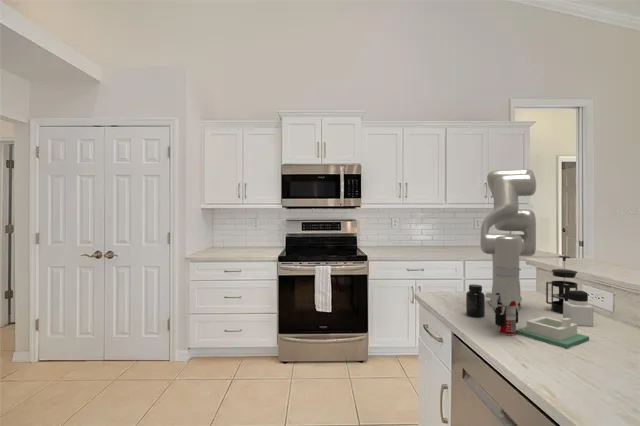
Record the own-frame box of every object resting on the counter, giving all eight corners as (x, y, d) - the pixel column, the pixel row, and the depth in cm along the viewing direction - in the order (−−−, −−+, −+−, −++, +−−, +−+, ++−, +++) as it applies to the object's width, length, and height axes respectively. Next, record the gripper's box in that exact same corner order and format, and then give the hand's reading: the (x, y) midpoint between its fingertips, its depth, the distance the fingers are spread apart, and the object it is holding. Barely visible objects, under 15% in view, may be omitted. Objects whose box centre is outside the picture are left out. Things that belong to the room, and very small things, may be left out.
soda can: (500, 329, 130) (500, 295, 130) (517, 332, 126) (517, 297, 126) (496, 333, 125) (496, 298, 125) (513, 336, 122) (513, 300, 122)
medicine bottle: (593, 326, 132) (593, 293, 132) (571, 325, 134) (571, 292, 134) (583, 320, 139) (583, 289, 139) (562, 319, 141) (562, 288, 141)
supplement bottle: (472, 312, 152) (472, 283, 151) (488, 316, 146) (488, 285, 146) (462, 314, 148) (462, 285, 148) (478, 318, 142) (478, 288, 142)
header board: (515, 333, 125) (515, 312, 125) (538, 326, 132) (538, 307, 132) (566, 348, 111) (566, 325, 111) (589, 340, 118) (589, 318, 118)
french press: (575, 309, 155) (575, 255, 154) (583, 315, 146) (583, 258, 146) (543, 307, 159) (543, 254, 158) (549, 313, 150) (549, 256, 150)
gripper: (511, 268, 133) (511, 317, 133) (481, 272, 124) (481, 325, 125) (532, 271, 127) (532, 322, 127) (501, 276, 118) (501, 331, 118)
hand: (506, 323), depth 126 cm, fingers open, 6 cm apart
